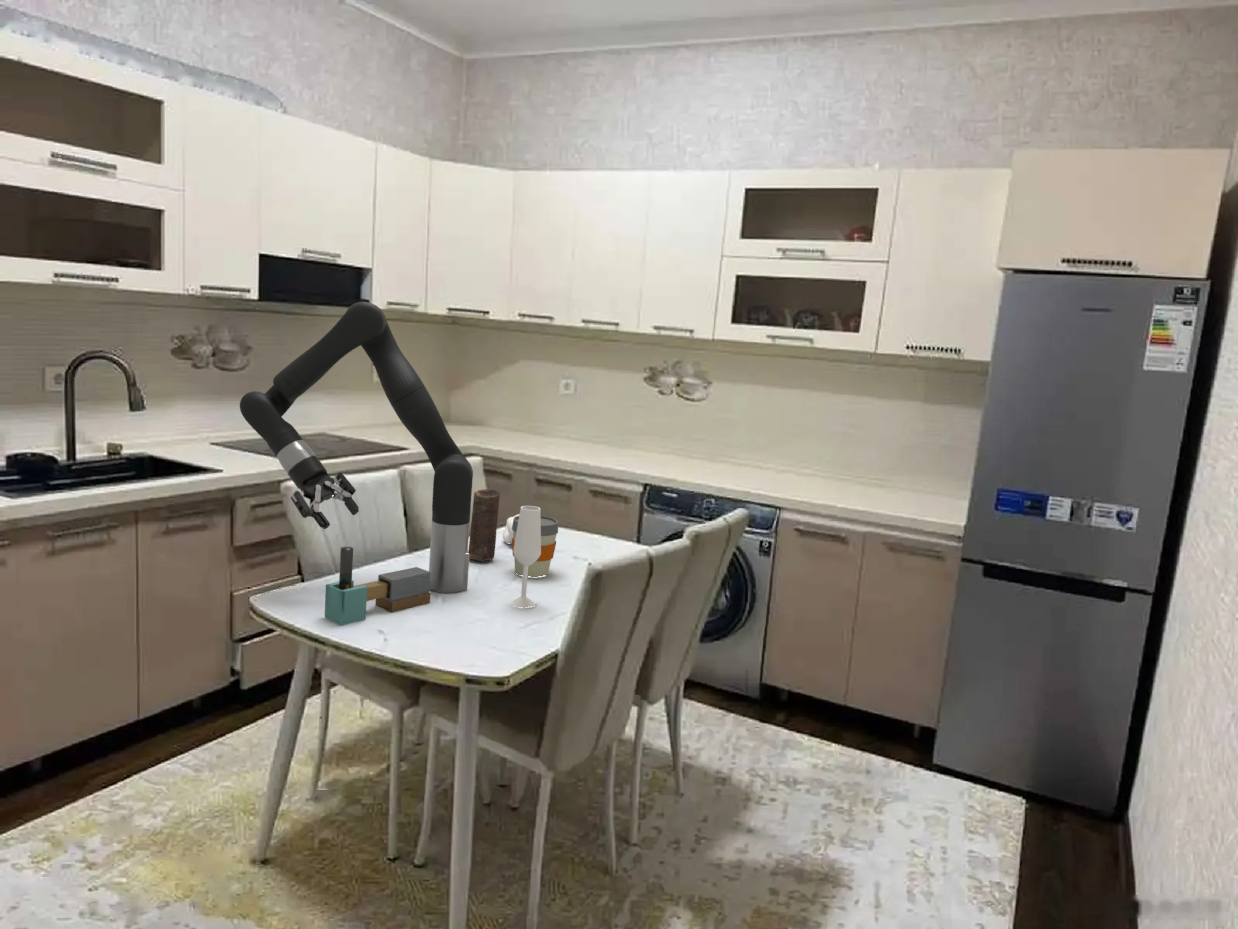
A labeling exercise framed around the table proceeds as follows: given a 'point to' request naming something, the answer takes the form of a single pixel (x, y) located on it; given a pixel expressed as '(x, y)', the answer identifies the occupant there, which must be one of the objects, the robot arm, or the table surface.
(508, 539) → the white rounded piece
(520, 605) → the champagne flute
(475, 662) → the table surface
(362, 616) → the socket
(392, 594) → the sleeve
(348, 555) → the board with post
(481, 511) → the candle
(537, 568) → the reusable coffee cup
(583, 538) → the table surface
